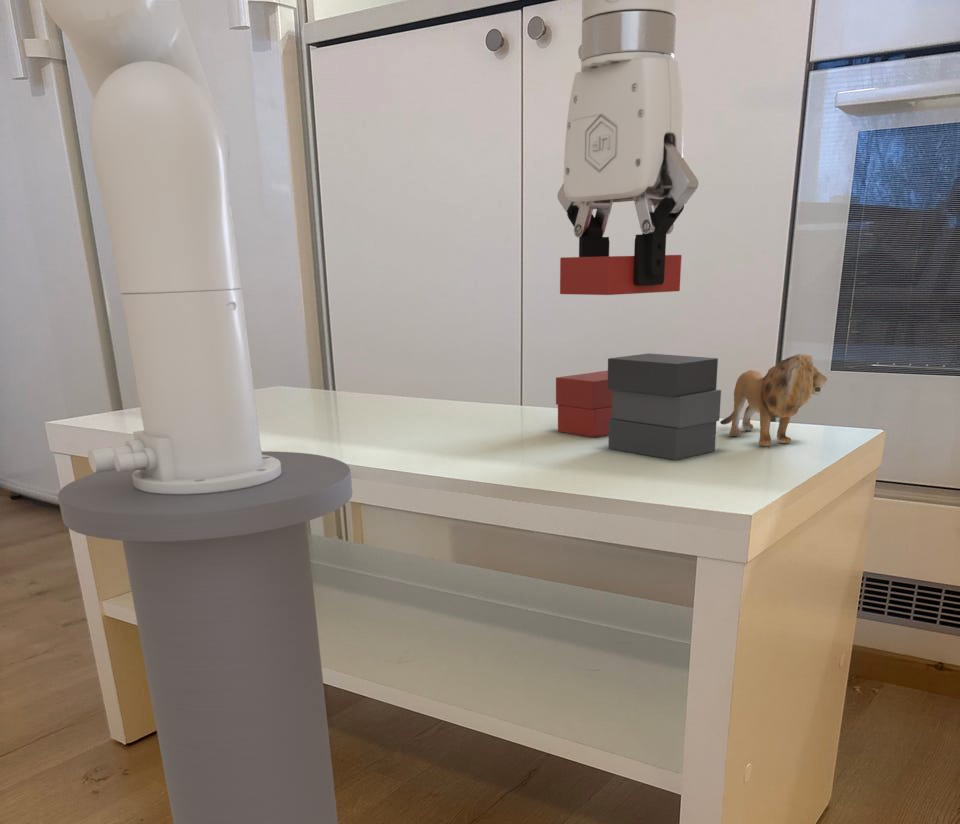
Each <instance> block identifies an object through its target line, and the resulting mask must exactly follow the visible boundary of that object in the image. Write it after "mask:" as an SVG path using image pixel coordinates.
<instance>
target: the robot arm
mask: <svg viewBox="0 0 960 824" xmlns="http://www.w3.org/2000/svg"><path fill="white" fill-rule="evenodd" d="M40 1H41V3H42V6H43V7H44V8H45V10H46V12H47V14H48V15H49V16H50V18H51V19H52V21H53V22H54V24H55V25H57V27H58V28H59V29H60V30H61V31H62V32H63V33H64V34H65V35H66V37H67V38H68V40H69V43H70V44H71V47H72V49H73V51H74V54H75V56H76V59H77V61H78V63H79V66H80V69H81V71H82V74H83V76H84V78H85V80H86V83H87V86H88V88H89V90H90V93H91V95H92V98H93V103H92V106H91V111H90V118H89V119H90V120H89V136H90V138H89V139H90V147H91V153H92V159H93V164H94V169H95V173H96V177H97V182H98V186H99V190H100V195H101V199H102V201H103V202H102V203H103V207H104V211H105V216H106V220H107V225H108V229H109V235H110V239H111V245H112V251H113V256H114V257H113V258H114V262H115V268H116V273H117V279H118V286H119V292H120V294H121V299H122V306H123V312H124V318H125V323H126V324H125V325H126V329H127V335H128V340H129V341H128V343H129V347H130V353H131V359H132V365H133V372H134V377H135V379H134V380H135V384H136V390H137V397H138V402H139V408H140V415H141V421H142V426H143V430H136V431H133V432H132V434H133V435H132V436H133V440H126V441H125V442H124V445H122V446H115V447H114V446H113V447H112V446H107V447H101V448H92V449H88V451H87V459H88V465H89V468H90V469H91V471H92V472H93V474H94V473H99V472H105V471H112V470H117V471H118V472H121V471H128V470H133V471H134V472H133V474H132V478H133V484H134V487H136V488H137V489H138V490H141V491H143V492H148V493H153V494H164V495H195V494H209V493H219V492H227V491H234V490H239V489H245V488H250V487H254V486H258V485H261V484H264V483H268V482H270V481H272V480H274V479H276V478H278V477H279V476H280V474H281V473H282V472H281V462H280V461H279V460H278V459H276V458H274V457H271V456H267V455H262V452H261V451H262V445H261V437H260V428H259V419H258V411H257V404H256V402H257V401H256V393H255V388H254V377H253V370H252V362H251V361H252V360H251V353H250V345H249V336H248V330H247V329H248V327H247V322H246V311H245V304H244V303H245V301H244V294H243V288H242V282H241V273H240V266H239V257H238V249H237V241H236V233H235V226H234V225H235V224H234V218H233V209H232V202H231V193H230V188H229V179H228V171H229V166H230V156H231V155H230V153H231V152H230V143H229V138H228V134H227V131H226V128H225V126H224V123H223V121H222V118H221V115H220V112H219V110H218V107H217V104H216V101H215V98H214V96H213V93H212V91H211V90H212V89H211V88H210V85H209V82H208V79H207V77H206V73H205V71H204V68H203V65H202V62H201V59H200V56H199V54H198V51H197V48H196V46H195V42H194V40H193V37H192V34H191V31H190V29H189V26H188V23H187V20H186V17H185V14H184V11H183V8H182V6H181V3H180V0H40ZM581 4H582V5H581V43H580V45H579V47H578V58H579V59H580V62H581V63H580V71H577V72H575V73H574V77H573V82H572V86H571V92H570V97H569V98H570V99H569V105H568V112H567V120H566V132H565V144H564V159H563V182H562V185H561V186H560V188H559V190H558V191H557V201H558V202H559V203H560V205H561V206H562V208H563V209H564V211H565V212H566V215H567V219H568V220H569V222H570V223H571V224H572V226H573V234H574V236H575V238H578V257H606V256H610V237H609V236H604V234H605V232H606V228H607V224H608V222H609V218H610V215H611V211H612V207H613V204H614V203H625V202H626V203H627V202H634V205H635V206H634V207H635V211H636V215H637V219H638V223H639V227H640V228H639V229H640V231H641V234H635V239H634V249H633V251H634V253H633V256H634V257H635V258H634V284H635V285H636V286H646V285H662V284H663V282H664V272H665V255H666V251H667V250H666V248H667V235H670V234H671V233H672V232H673V231H674V228H675V227H674V226H675V225H674V223H675V222H676V220H677V219H678V218H679V216H680V215H681V214H682V213H683V211H684V209H685V205H686V204H687V203H688V202H689V200H690V199H691V198H692V196H693V195H694V193H695V192H696V191H697V189H698V187H699V180H698V178H697V176H696V175H695V173H694V171H692V169H691V168H690V166H689V164H688V163H687V162H686V160H685V159H684V108H683V92H682V83H681V73H680V67H679V62H678V61H676V60H675V51H676V30H677V29H676V28H677V5H678V0H581ZM594 210H595V211H596V212H595V215H593V211H594ZM135 470H136V471H135Z"/></svg>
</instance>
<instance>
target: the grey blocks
mask: <svg viewBox="0 0 960 824" xmlns="http://www.w3.org/2000/svg"><path fill="white" fill-rule="evenodd" d="M718 364H719V358H717V357H705V356H703V357H702V356H690V355H676V354H675V355H673V354H663V353H662V354H661V353H642V354H634V355H625V356H618V357H617V356H616V357H609V358H607V371H608V389H611V390H612V419H609V435H608V443H607V444H608V445H607V446H608V449H610V450H616V451H621V452H627V453H632V454H638V455H644V456H650V457H654V458H655V457H656V458H662V459H667V460H673V461H677V460H681V459H687V458H690V457H695V456H699V455H705V454H709V453H714V452H715V451H716V438H717V437H716V436H717V422H719V421H720V417H721V401H722V400H721V399H722V390H721V389H717V383H718V382H717V381H718V367H719V366H718Z"/></svg>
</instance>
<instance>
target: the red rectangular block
mask: <svg viewBox="0 0 960 824" xmlns="http://www.w3.org/2000/svg"><path fill="white" fill-rule="evenodd" d="M682 257H683V255H682V254H665V272H664V282H663V284H662V285H646V286H636V285H635V284H634V258H635V257H634V255H615V256H614V255H613V256H610V255H609V256H606V257H579V256H570V257H559V258H560V259H559V266H560V267H559V294H560V295H582V296H583V295H584V296H585V295H586V296H588V295H589V296H616V295H617V296H618V295H633V294H652V293H653V294H654V293H669V292H671V293H672V292H680V291H681V276H682V273H681V272H682Z"/></svg>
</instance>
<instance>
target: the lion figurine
mask: <svg viewBox="0 0 960 824" xmlns="http://www.w3.org/2000/svg"><path fill="white" fill-rule="evenodd" d="M827 380H828V377H827V376H825V375H824V374H822V373H821V372H820V371H819V370H818V368H817V367H816V366H814V362H813V356H812V355H808V354H805V353H804V354H802V353H797V354H794V355H793V356H789V357H787V358H785V359H782V360H781V361H779V363H777V364H775V365H774V366H772V367H769V369H768V371H767V373H766V374H765V376H764V374H763V373H762V372H761V371H758V370H753V369H748V370H747V371H745V372H743V373H742V374H740V375H739V376H738V377H737V380H736V383H735V385H734V389H733V411H732V413H731V414H730V415H728V416H727V417H725V418H723V419H722V420H721V421H720V422H719V424H721V425H722V426H723V425H728V424H731V427H730V430H729V436H731V437H735V436H736V437H737V436H740V435H741V430H740V428H739V424H740V420H741V419H740V418H741V417H740V416H741V412H742V411H743V409H744V405H745V403H746V401H747V404H748V405H747V407H746V408H745V410H744V413H743V418H742V423H741V427H742V429H743V430H745V431H751V430H754V425H753V424H752V423H751V419H752V417H753V416H754V414H755V413H757V414H759V427H760V429H759V441H758V445H759V446H761V447H770V446H772V437H771V433H770V429H771V421H772V418H778V419H779V420H778V426H777V432H776V441H777V442H778V443H781V444H789V443H791V442H792V438H791V437H790V436H787V435H786V433H787V429H788V427H789V424H790V420H791V417H793V416H795V415H797V414H798V411H799V409H800V408H801V407H802V406H804V405H806V404H807V403H809V401H810V400H811V398H812V395H813V396H819V395H820V394H821V389H822V388H824V387H825V385H826V382H827Z"/></svg>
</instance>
